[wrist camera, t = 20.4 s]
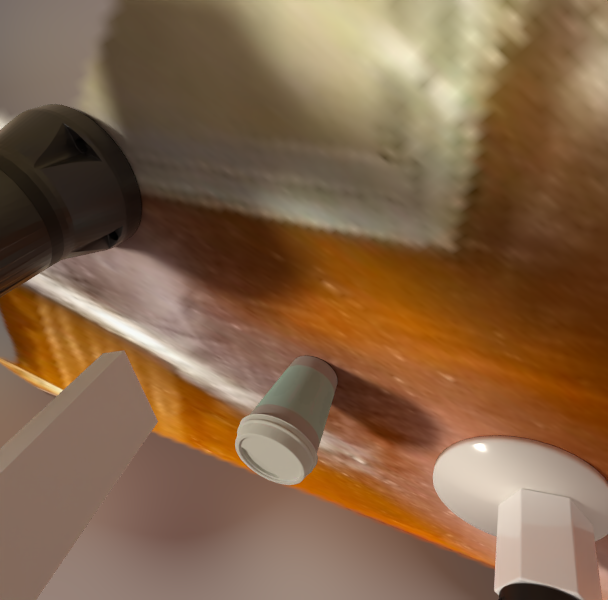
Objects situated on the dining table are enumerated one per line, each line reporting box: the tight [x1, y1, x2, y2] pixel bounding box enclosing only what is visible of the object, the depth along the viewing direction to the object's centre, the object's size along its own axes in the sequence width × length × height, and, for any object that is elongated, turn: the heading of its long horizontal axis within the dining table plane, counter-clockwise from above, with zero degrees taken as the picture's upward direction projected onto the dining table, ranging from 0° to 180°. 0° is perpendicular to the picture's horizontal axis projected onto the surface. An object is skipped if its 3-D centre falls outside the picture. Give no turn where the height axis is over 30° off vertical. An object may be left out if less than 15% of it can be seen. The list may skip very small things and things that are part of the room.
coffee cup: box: [235, 356, 338, 485], centre depth 45 cm, size 9×8×12 cm
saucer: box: [433, 436, 608, 541], centre depth 47 cm, size 18×18×1 cm
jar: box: [494, 489, 602, 600], centre depth 42 cm, size 9×8×12 cm
